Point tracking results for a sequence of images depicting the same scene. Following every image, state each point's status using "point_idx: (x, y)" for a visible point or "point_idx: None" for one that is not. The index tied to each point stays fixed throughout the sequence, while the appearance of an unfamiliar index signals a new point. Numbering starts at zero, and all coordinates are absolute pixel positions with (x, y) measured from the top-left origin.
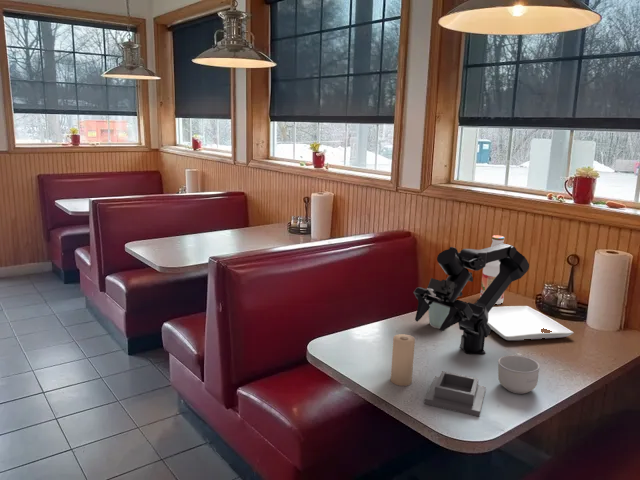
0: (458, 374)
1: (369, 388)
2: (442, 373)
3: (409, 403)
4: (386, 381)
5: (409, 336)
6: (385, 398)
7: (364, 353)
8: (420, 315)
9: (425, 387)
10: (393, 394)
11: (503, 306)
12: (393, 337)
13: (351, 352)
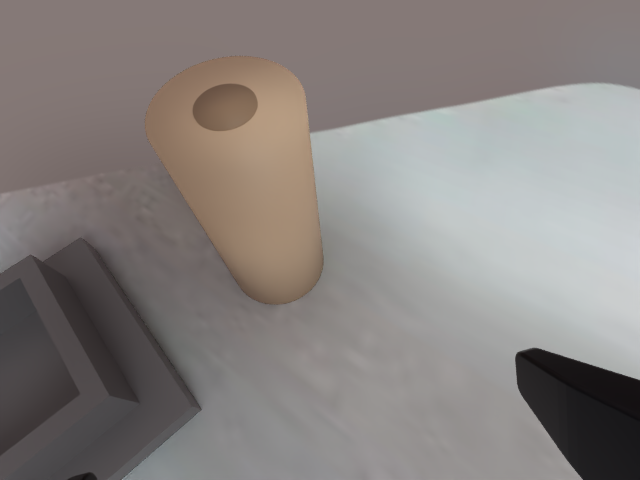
0: (11, 471)
1: None
2: (87, 376)
3: (131, 205)
4: None
5: (237, 153)
6: None
7: (579, 243)
8: (605, 461)
9: (181, 325)
10: None
11: None
12: (274, 62)
13: (595, 197)
